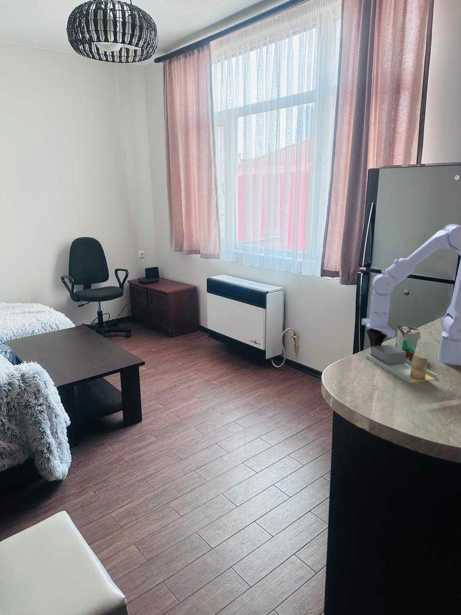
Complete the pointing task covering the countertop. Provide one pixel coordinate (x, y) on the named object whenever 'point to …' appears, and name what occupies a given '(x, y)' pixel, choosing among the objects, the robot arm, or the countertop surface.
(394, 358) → the slab
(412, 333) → the food container
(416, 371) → the roller pin
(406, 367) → the runway
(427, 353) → the countertop surface
